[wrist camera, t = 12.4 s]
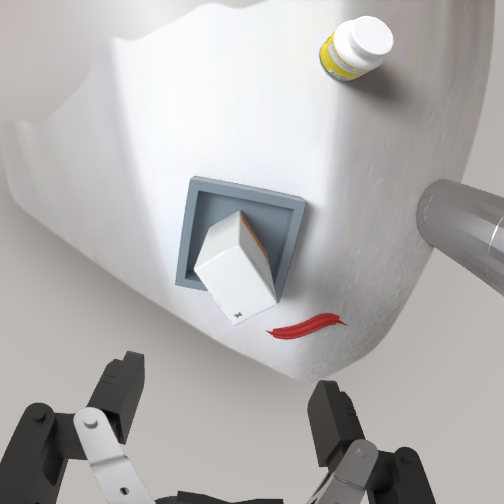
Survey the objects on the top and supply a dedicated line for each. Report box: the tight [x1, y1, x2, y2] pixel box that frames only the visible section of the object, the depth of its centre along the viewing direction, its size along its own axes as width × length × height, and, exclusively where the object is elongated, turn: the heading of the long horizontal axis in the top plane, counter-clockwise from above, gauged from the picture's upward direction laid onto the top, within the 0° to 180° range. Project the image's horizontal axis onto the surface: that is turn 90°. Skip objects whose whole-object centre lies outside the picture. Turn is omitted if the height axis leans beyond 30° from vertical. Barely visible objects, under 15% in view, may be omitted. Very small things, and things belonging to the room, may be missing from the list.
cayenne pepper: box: [267, 313, 347, 339], centre depth 39 cm, size 12×5×2 cm, turn 83°
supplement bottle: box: [319, 16, 394, 81], centre depth 23 cm, size 5×5×10 cm
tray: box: [175, 176, 306, 303], centre depth 33 cm, size 12×12×3 cm
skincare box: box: [194, 210, 277, 326], centre depth 28 cm, size 6×4×12 cm
